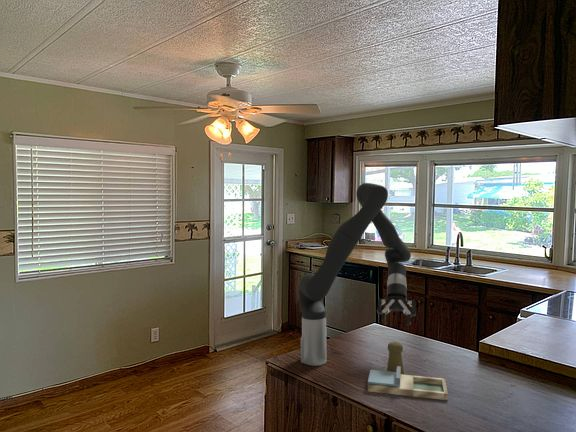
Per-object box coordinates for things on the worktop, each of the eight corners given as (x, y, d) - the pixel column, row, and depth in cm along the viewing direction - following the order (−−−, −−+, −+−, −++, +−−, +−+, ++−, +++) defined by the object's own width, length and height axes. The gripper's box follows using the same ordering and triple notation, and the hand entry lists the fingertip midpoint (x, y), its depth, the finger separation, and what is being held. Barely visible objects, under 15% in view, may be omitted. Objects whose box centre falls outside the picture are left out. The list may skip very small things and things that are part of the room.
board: (367, 391, 135) (367, 385, 135) (371, 377, 145) (370, 371, 145) (447, 400, 128) (447, 393, 128) (444, 384, 139) (444, 378, 139)
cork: (404, 377, 144) (404, 346, 144) (386, 376, 146) (386, 345, 145) (403, 370, 150) (403, 340, 150) (386, 369, 152) (386, 339, 151)
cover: (367, 383, 136) (367, 375, 135) (370, 371, 145) (370, 363, 145) (399, 386, 133) (399, 378, 133) (400, 374, 142) (400, 366, 142)
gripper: (378, 281, 167) (376, 318, 157) (415, 283, 163) (416, 320, 153) (379, 291, 173) (377, 327, 162) (415, 293, 169) (415, 330, 158)
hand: (396, 324), depth 158 cm, fingers open, 8 cm apart
